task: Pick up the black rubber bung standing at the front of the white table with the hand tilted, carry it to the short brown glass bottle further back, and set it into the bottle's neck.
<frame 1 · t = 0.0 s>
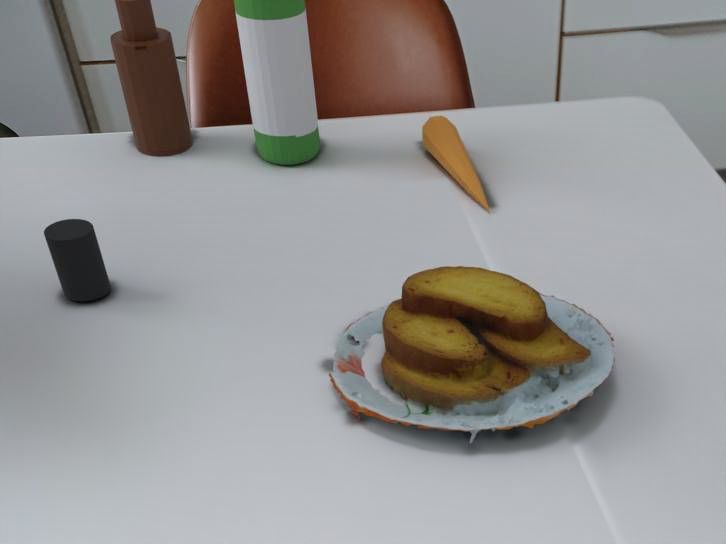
carrot: (458, 181, 114), on the table
bottle: (164, 145, 120), on the table
bung: (91, 301, 94), on the table
food on plate: (472, 376, 86), on the table
wine bottle: (289, 156, 118), on the table
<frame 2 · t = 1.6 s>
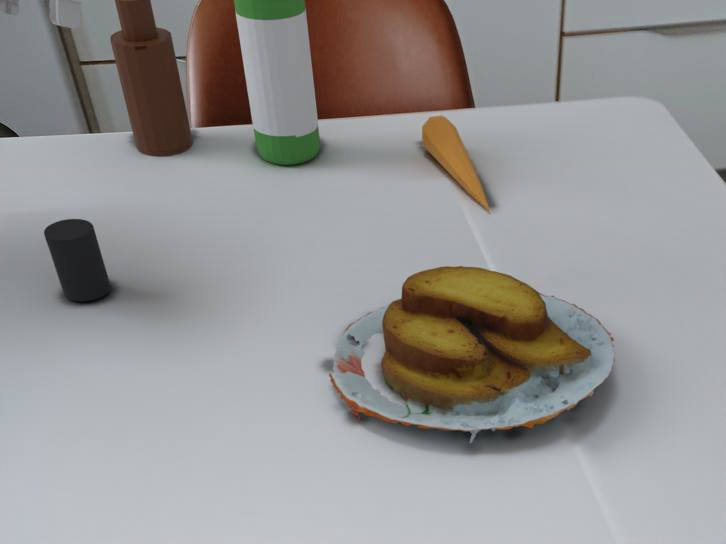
hand: (33, 20, 77), 24 cm above the table, tool tilted 20°, fingers open, 8 cm apart
nothing on the table moved.
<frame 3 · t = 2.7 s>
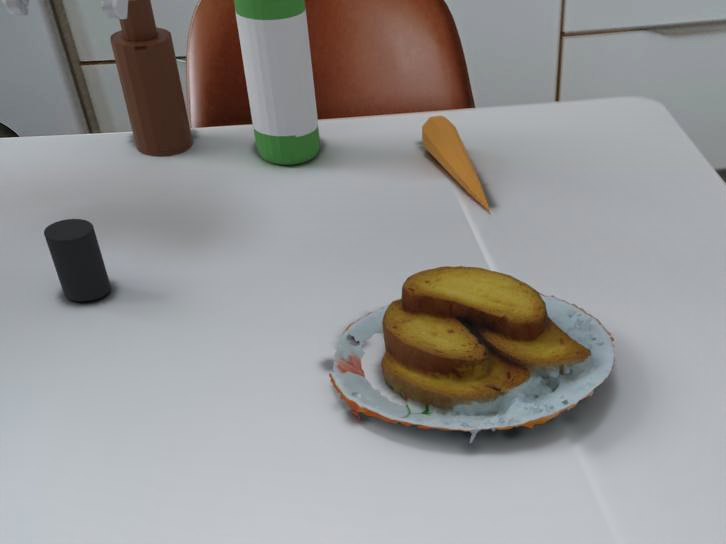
hand: (64, 13, 85), 22 cm above the table, tool tilted 40°, fingers open, 8 cm apart
nothing on the table moved.
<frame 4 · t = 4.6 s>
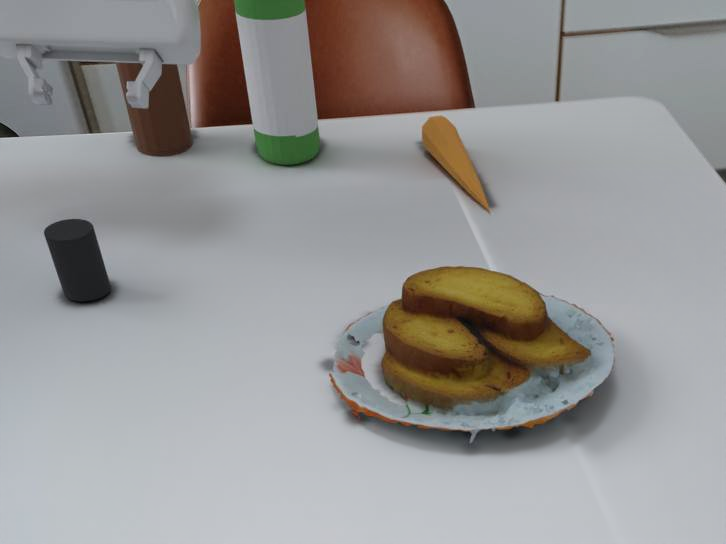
hand: (88, 103, 91), 14 cm above the table, tool tilted 45°, fingers open, 8 cm apart
nothing on the table moved.
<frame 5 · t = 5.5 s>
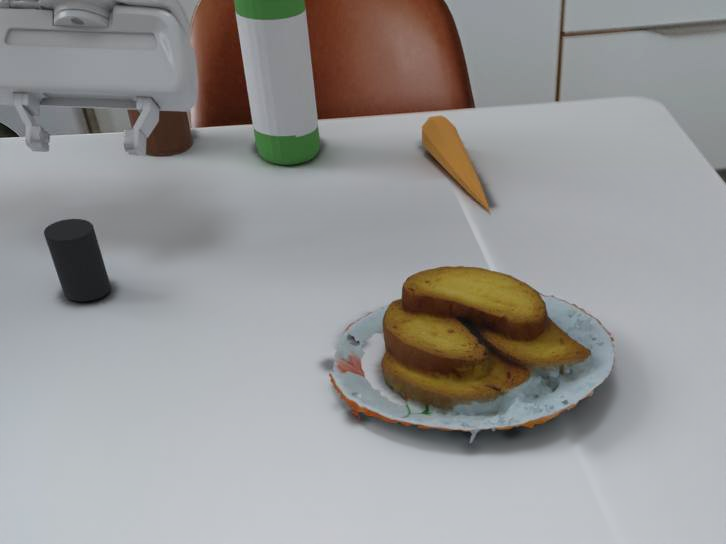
hand: (85, 150, 91), 11 cm above the table, tool tilted 45°, fingers open, 8 cm apart
nothing on the table moved.
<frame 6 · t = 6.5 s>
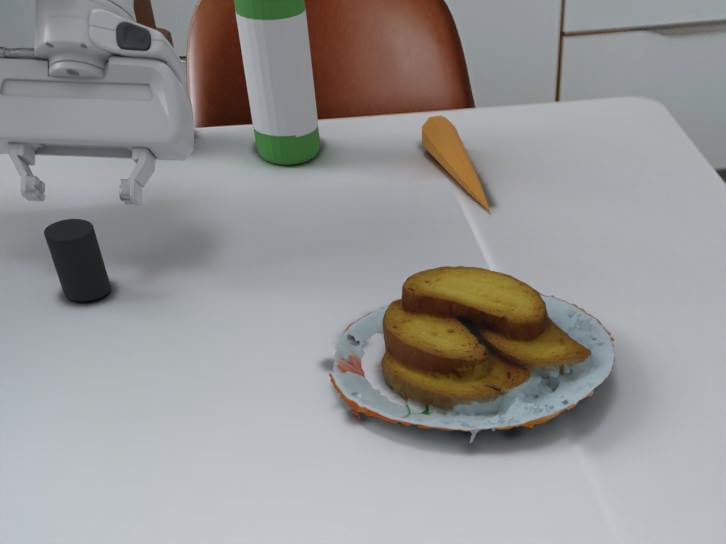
hand: (81, 200, 91), 8 cm above the table, tool tilted 45°, fingers open, 8 cm apart
nothing on the table moved.
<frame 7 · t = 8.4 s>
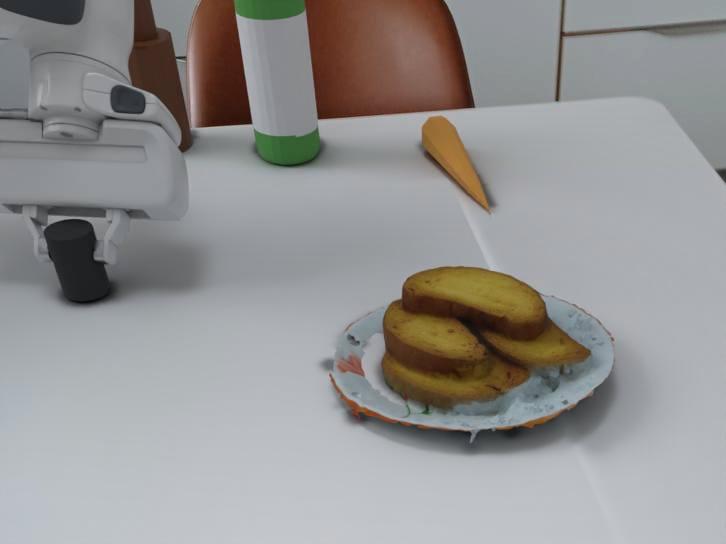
hand: (75, 261, 90), 4 cm above the table, tool tilted 45°, fingers closed on bung, 4 cm apart
bung: (90, 301, 94), on the table, touching gripper
everything else where it was.
when the fingers open (19 cm above the table, at t = 19.8 s): bung stays where it is, resting on bottle.
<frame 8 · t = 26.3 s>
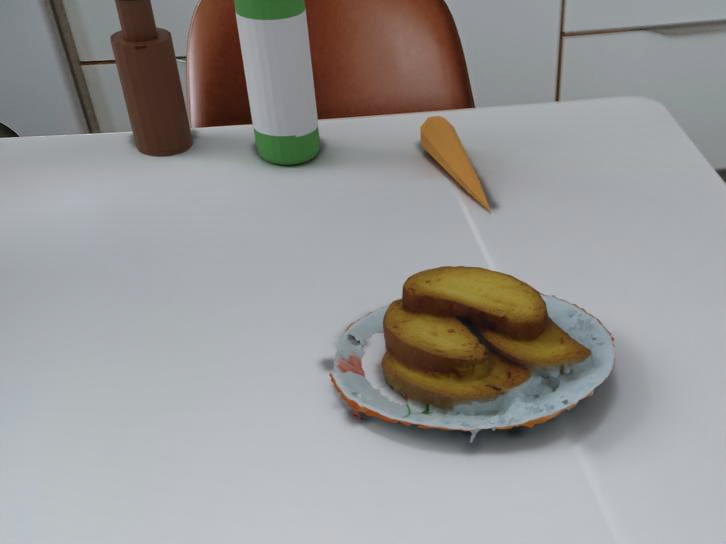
bung: (135, 7, 109), point 15 cm above the table, touching bottle
everything else where it was.
at the end: bung 0.1 cm off-centre in the bottle, point 14.8 cm above the bottle's base; bung tilted 0°; the gripper is holding nothing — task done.
